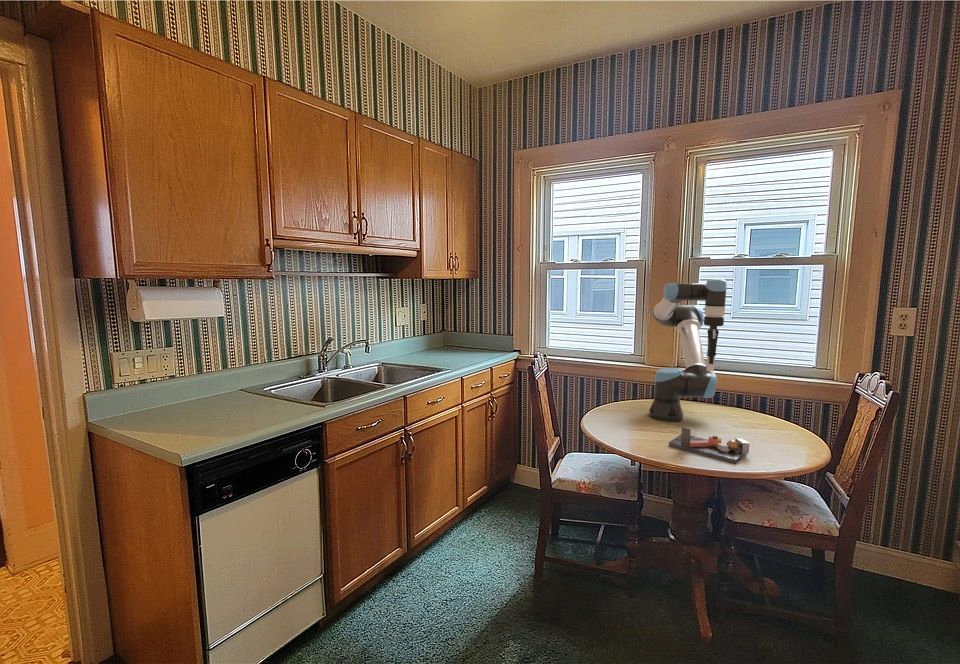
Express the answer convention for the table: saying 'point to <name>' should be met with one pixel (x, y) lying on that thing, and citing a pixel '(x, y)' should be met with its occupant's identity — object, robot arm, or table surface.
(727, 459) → the base
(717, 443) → the lever
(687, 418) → the table surface
